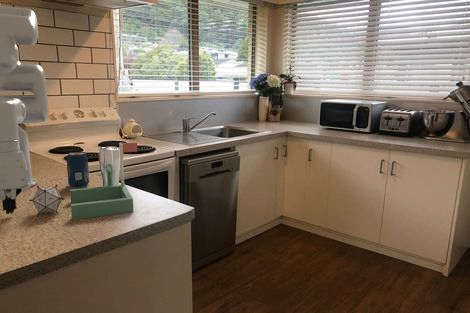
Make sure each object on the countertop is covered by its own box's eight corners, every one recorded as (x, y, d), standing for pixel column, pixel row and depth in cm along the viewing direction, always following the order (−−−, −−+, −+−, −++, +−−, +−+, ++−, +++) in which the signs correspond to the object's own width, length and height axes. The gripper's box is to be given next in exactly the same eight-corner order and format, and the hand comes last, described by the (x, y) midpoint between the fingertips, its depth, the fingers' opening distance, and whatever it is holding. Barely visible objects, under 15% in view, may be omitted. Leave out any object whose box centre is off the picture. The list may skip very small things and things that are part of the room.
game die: (51, 227, 104) (46, 207, 97) (26, 214, 105) (19, 194, 98) (72, 204, 110) (68, 184, 103) (48, 192, 111) (43, 172, 104)
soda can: (68, 184, 133) (66, 151, 131) (89, 182, 136) (87, 150, 134) (68, 189, 127) (65, 155, 125) (89, 187, 130) (87, 154, 127)
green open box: (72, 219, 100) (67, 155, 96) (70, 201, 114) (66, 145, 111) (148, 210, 109) (146, 150, 105) (138, 194, 123) (136, 142, 119)
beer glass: (109, 194, 122) (107, 150, 119) (96, 191, 126) (93, 148, 123) (126, 189, 128) (124, 147, 125) (112, 186, 132) (110, 145, 128)
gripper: (-35, 150, 90) (-26, 220, 94) (34, 147, 97) (40, 213, 100) (-28, 145, 97) (-20, 211, 101) (36, 143, 103) (41, 204, 107)
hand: (10, 212), depth 101 cm, fingers closed
